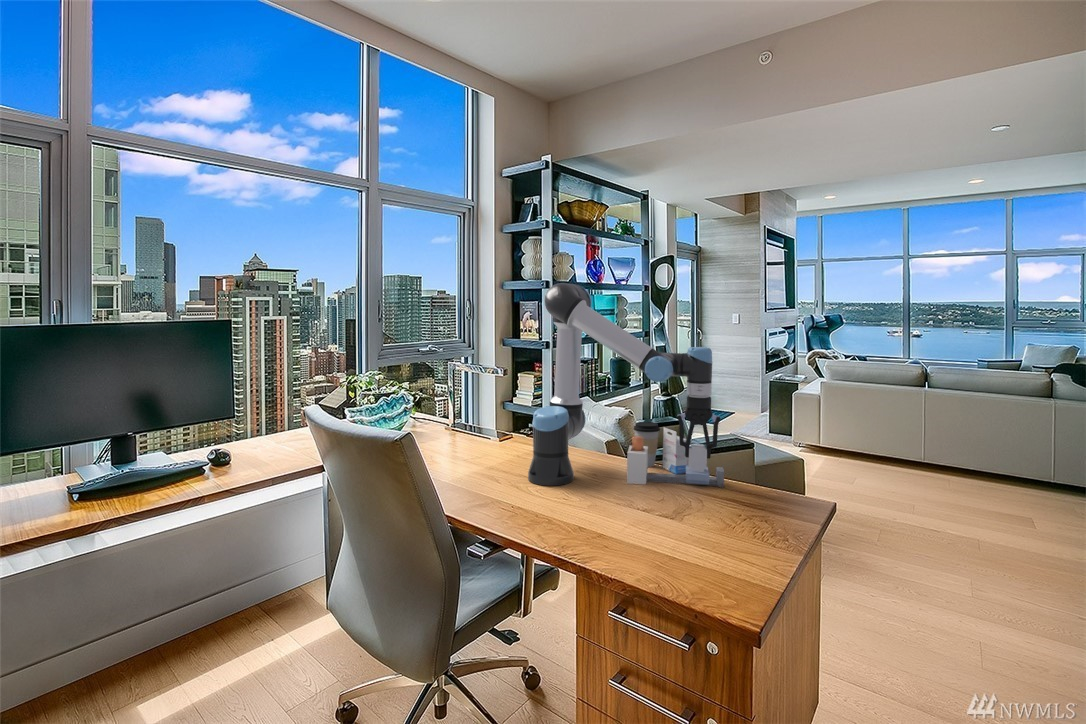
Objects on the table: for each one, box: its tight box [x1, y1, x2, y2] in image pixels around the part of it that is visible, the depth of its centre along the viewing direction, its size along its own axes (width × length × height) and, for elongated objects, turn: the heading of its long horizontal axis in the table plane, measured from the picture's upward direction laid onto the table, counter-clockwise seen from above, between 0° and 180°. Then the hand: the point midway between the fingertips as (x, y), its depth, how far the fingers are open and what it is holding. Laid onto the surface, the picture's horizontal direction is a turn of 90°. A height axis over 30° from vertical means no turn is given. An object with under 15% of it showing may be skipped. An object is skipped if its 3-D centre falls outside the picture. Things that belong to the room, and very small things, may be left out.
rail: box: [646, 466, 725, 488], centre depth 175 cm, size 24×5×5 cm, turn 76°
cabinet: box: [626, 444, 649, 485], centre depth 178 cm, size 6×10×10 cm, turn 166°
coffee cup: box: [633, 421, 661, 468], centre depth 195 cm, size 9×9×15 cm
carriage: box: [685, 443, 711, 485], centre depth 174 cm, size 7×9×12 cm
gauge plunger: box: [631, 435, 644, 451], centre depth 177 cm, size 4×4×4 cm
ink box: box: [662, 426, 688, 475], centre depth 188 cm, size 8×5×15 cm, turn 20°
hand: (697, 467), depth 174 cm, fingers closed on carriage, 4 cm apart
